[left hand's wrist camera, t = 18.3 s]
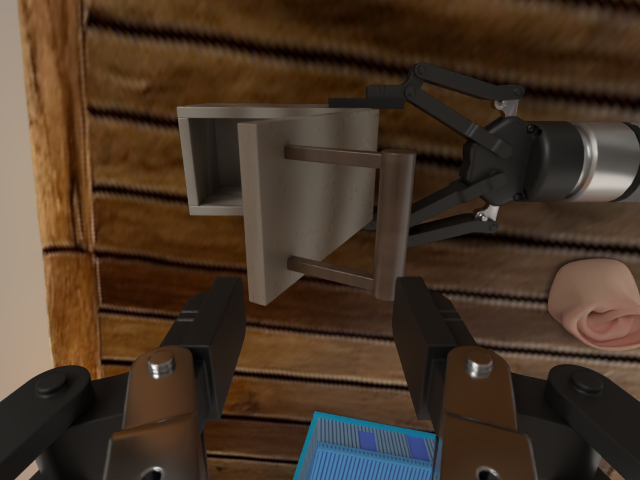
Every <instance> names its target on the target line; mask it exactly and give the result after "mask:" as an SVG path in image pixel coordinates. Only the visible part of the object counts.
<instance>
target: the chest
mask: <svg viewBox="0 0 640 480" xmlns="http://www.w3.org/2000/svg"><path fill="white" fill-rule="evenodd" d="M361 109H371V108H329V104H248V103H204V104H196V105H188V106H180V107H177V114H178V121H179V129H180V137H181V145H182V154H183V162H184V170H185V178H186V186H187V194H188V202H189V211H190V215H228V216H244V213H243V199H242V184H241V170H240V155H239V141H238V126H237V124H238V123H242V122H251V121H260V120H269V119H279V118H288V117H297V116H306V115H315V114H325V113H334V112H343V111H352V110H361Z"/></svg>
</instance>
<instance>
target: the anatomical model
mask: <svg viewBox="0 0 640 480" xmlns="http://www.w3.org/2000/svg"><path fill="white" fill-rule="evenodd" d="M548 311H549V313H550V314H551V316H552V317H553V318H554V319H555V320H556V321H558V322H559V323H560V324H561V325H562V326H563V327H564V328H565V329H566V330H567V331H568V332H570V333H571V334H572V335H574V336H575V337H576V338H577V339H578V340H580V341H581V342H582V343H584V344H586V345H587V346H590V347H592V348H595V349H599V350H605V351H623V350H629V349H634V348H637V347H640V295H639V292H638V288H637V286H636V283H635V280H634V278H633V276H632V274H631V272H630V270H629V269H628V268H627V266H626V265H624V264H623V263H622V262H620V261H617V260H613V259H606V258H595V259H585V260H579V261H574V262H570V263H568V264H566V265H564V266H563V267H561V268H560V270H559V271H558V272H557V274H556V276H555V278H554V281H553V284H552V287H551V290H550V293H549V299H548Z"/></svg>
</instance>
